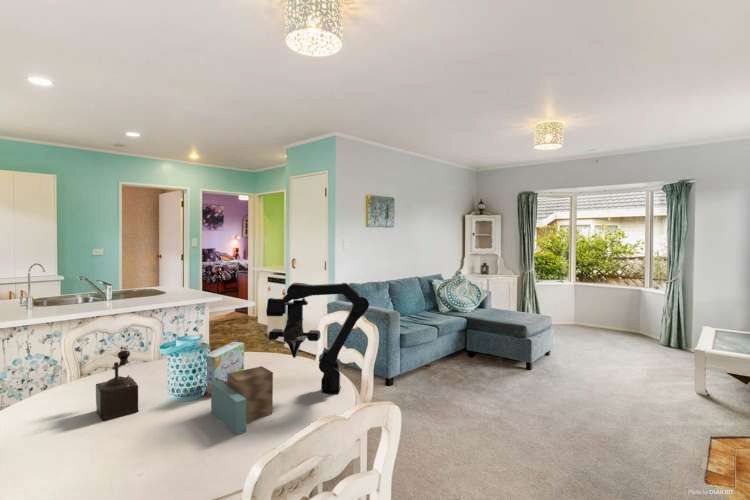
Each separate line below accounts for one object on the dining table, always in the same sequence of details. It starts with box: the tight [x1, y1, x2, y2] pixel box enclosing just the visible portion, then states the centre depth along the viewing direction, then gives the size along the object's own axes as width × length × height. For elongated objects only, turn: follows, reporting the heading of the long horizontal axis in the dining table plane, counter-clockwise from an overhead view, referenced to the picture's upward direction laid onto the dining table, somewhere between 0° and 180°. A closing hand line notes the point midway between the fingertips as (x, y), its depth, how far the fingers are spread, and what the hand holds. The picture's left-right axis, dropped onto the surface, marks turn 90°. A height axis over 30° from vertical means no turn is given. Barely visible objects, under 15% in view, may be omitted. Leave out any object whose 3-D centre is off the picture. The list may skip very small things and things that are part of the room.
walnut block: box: [227, 365, 274, 423], centre depth 134 cm, size 12×8×14 cm, turn 132°
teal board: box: [210, 381, 247, 436], centre depth 129 cm, size 3×20×10 cm, turn 42°
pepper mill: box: [95, 349, 140, 422], centre depth 137 cm, size 16×11×18 cm
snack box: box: [203, 341, 245, 398], centre depth 158 cm, size 21×6×15 cm, turn 168°
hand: (294, 357), depth 155 cm, fingers closed
